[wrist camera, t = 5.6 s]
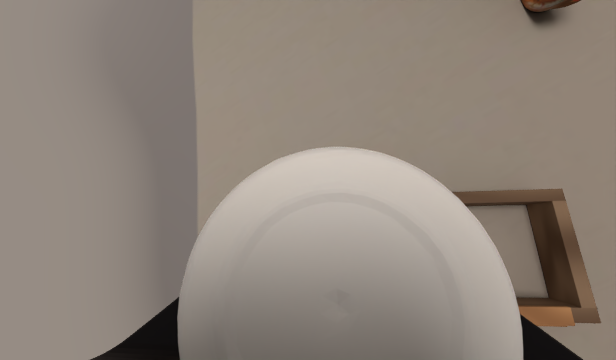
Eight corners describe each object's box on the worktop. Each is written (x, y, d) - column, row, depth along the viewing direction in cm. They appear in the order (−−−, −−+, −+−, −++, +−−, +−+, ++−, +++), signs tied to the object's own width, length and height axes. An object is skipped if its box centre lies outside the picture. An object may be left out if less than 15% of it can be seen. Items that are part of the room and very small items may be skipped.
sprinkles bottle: (375, 254, 15) (649, 375, 2) (323, 295, 15) (292, 708, 2) (335, 202, 16) (365, 80, 3) (285, 239, 16) (106, 261, 3)
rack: (567, 316, 18) (607, 331, 16) (244, 309, 21) (231, 321, 18) (535, 193, 21) (565, 188, 18) (249, 202, 24) (238, 198, 21)
